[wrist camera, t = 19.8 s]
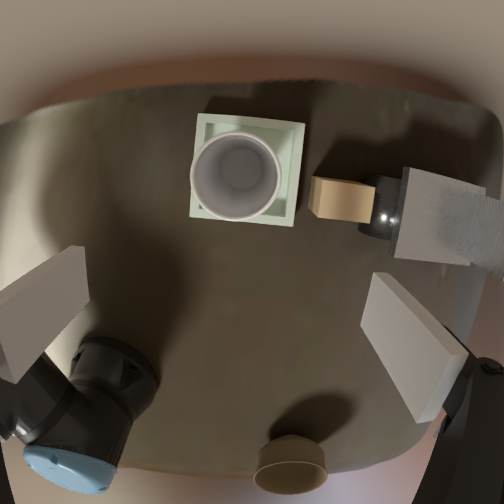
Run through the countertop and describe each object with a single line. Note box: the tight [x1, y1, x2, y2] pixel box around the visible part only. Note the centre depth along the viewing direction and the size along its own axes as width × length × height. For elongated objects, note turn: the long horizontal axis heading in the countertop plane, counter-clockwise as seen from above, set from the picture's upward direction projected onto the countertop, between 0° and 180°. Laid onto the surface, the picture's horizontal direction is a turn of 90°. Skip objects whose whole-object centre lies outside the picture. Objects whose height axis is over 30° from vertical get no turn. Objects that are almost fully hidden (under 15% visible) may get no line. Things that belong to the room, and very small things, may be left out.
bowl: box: [254, 434, 327, 495], centre depth 47 cm, size 13×13×10 cm
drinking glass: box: [190, 131, 282, 221], centre depth 29 cm, size 7×7×15 cm
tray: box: [190, 113, 305, 227], centre depth 36 cm, size 12×12×2 cm
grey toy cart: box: [358, 167, 504, 281], centre depth 31 cm, size 17×10×16 cm, turn 84°
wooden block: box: [308, 176, 375, 223], centre depth 35 cm, size 6×4×6 cm, turn 85°
